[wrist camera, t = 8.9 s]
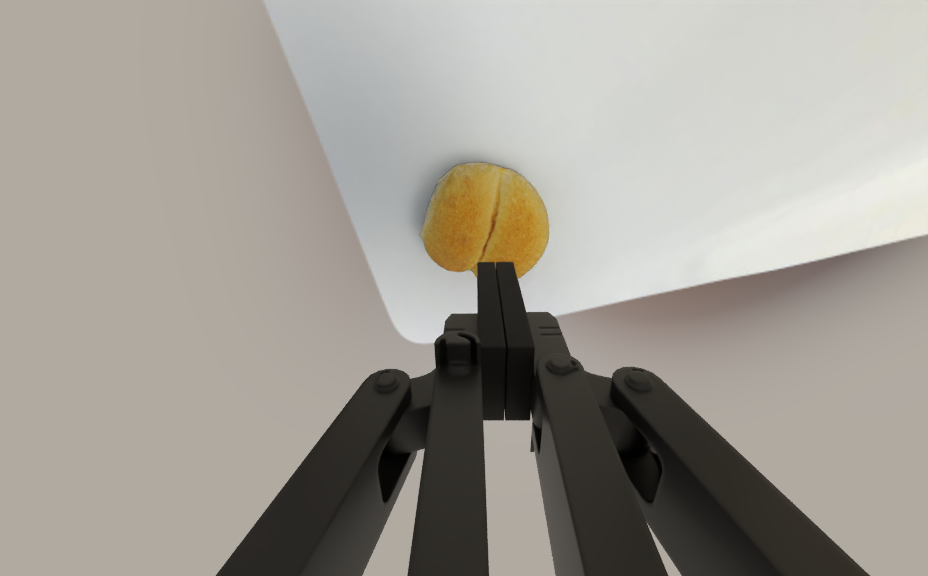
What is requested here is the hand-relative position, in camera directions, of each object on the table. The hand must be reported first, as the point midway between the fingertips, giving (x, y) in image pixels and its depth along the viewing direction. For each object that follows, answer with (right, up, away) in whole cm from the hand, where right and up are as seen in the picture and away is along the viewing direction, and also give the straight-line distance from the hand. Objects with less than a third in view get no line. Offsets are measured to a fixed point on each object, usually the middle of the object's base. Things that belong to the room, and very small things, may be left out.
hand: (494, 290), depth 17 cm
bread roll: (0, +5, +12) cm, 13 cm away
